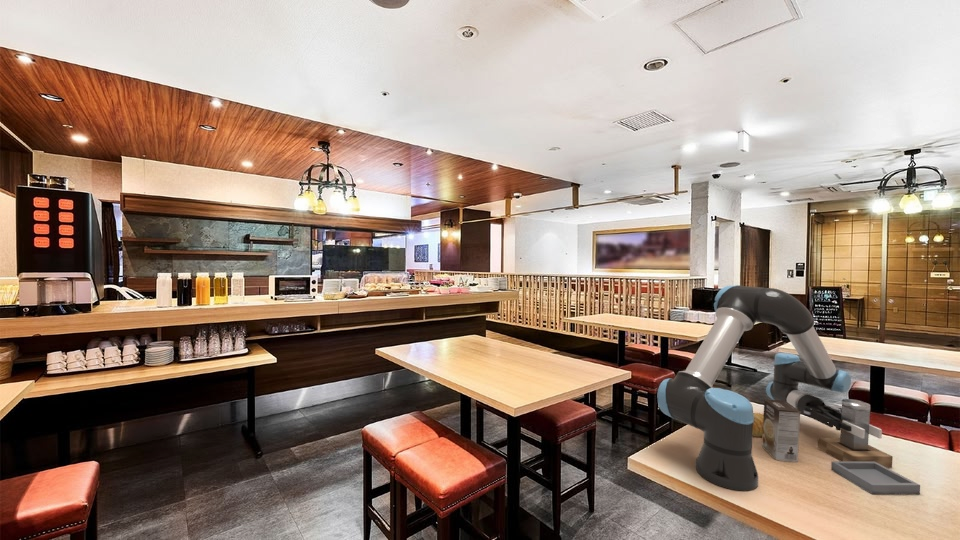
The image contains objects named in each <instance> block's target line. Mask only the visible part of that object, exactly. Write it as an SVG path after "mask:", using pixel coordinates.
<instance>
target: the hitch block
mask: <svg viewBox="0 0 960 540" xmlns="http://www.w3.org/2000/svg"><path fill="white" fill-rule="evenodd" d="M817 438H818V439H817V449H818V450H820V451H822V452H823V453H825V454H827V455H830V456H831V457H833V458H835V459H836V460H838V461H875V462H877V463H879V464H880V465H882V466H884V467H886V468H888V469H892V468H893V459H894V458H893V455H891V454H888V453H887V452H884V451H882V450H880V449H878V448H876V447H874V446H872V445H870V444H868V451H852V450H850V449H848V448H847V447H845V446H843V445H841V444H840V437H817Z"/></svg>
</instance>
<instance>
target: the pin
mask: <svg viewBox="0 0 960 540" xmlns="http://www.w3.org/2000/svg"><path fill="white" fill-rule="evenodd" d="M841 408H842V414H841V422H842V420H845V421H847V422H849V423H851V424H854V425H856V426H858V427H860V428H862V429H865V438H860V437H858V436H856V435H854V434H852V433H850V432H847V431H845V430H843V429H842V428H841V430H840V434H839V435H840V437H839V438H840V444H841V445H843V446H845V447H847V448H848V449H850V450H852V451H868V445H869V437H870V436H869V435H870V434H869V424H870V420H871V419H870V418H871V417H870V415H871V404H870V403H867V402H864V401H862V400H858V399H851V398H844V399H841Z"/></svg>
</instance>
